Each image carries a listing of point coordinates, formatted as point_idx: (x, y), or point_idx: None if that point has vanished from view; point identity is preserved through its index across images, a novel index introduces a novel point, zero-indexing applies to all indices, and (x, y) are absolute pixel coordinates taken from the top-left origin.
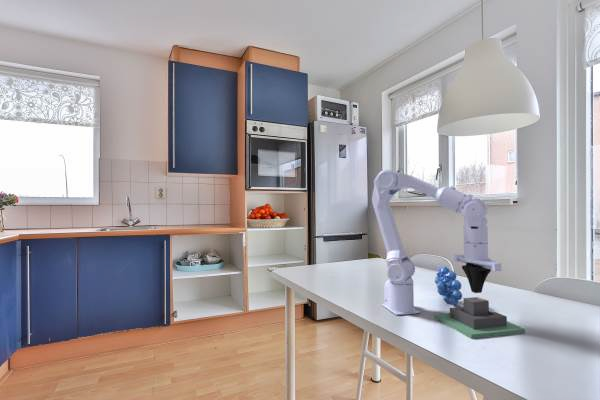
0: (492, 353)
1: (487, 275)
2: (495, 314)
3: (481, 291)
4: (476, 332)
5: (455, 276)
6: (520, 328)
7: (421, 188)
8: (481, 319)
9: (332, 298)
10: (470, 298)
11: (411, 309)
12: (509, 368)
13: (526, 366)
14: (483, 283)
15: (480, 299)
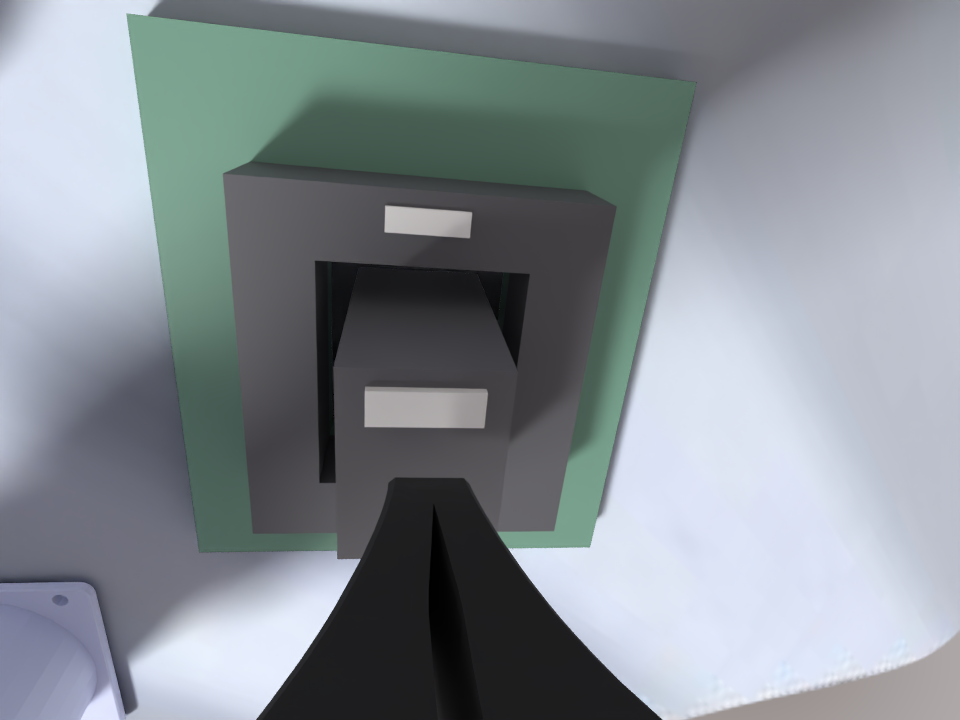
0: (744, 545)
1: (654, 716)
2: (532, 267)
3: (473, 494)
4: (580, 500)
5: None
6: (670, 117)
7: None
8: (563, 466)
9: None
10: (367, 497)
11: (71, 657)
12: (853, 574)
13: (889, 502)
14: (519, 577)
15: (439, 421)
